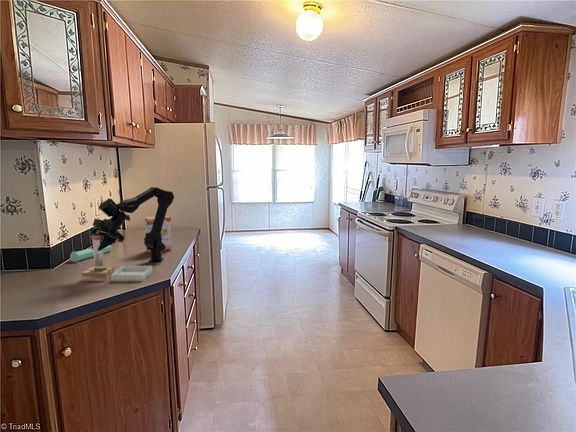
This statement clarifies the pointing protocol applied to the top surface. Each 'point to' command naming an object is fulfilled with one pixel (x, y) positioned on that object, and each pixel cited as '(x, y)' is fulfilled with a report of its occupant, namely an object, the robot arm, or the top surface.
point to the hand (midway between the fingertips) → (95, 249)
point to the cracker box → (164, 231)
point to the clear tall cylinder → (97, 254)
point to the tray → (132, 273)
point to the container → (86, 254)
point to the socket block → (97, 274)
